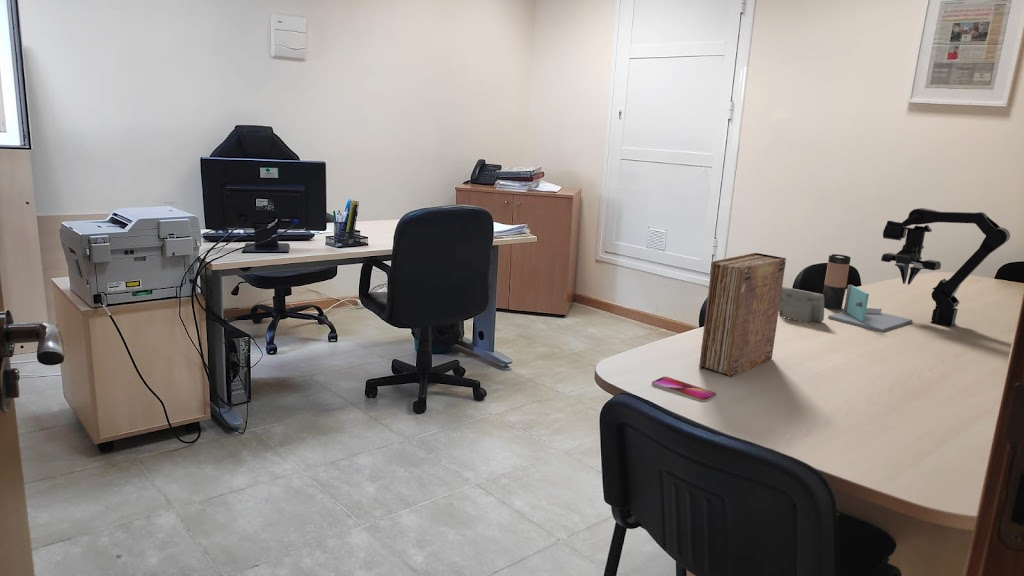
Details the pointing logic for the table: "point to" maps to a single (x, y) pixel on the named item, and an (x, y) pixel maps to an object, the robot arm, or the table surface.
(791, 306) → the digital clock
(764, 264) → the book
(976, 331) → the table surface
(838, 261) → the travel mug
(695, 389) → the smartphone
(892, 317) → the base board
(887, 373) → the table surface
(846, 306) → the door
